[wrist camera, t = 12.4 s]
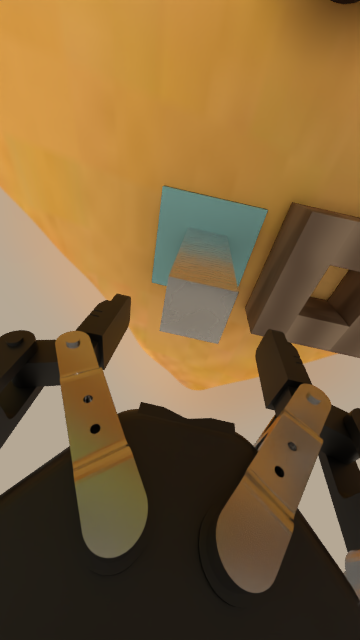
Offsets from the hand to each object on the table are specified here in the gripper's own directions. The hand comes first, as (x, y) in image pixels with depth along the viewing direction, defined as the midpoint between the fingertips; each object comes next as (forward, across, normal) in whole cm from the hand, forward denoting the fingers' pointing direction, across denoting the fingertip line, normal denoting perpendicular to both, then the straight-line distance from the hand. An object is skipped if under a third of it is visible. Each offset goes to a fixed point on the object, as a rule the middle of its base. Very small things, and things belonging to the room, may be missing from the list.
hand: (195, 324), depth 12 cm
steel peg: (+13, 0, 0) cm, 13 cm away
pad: (+14, 0, 0) cm, 14 cm away
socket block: (+14, -13, 0) cm, 19 cm away
